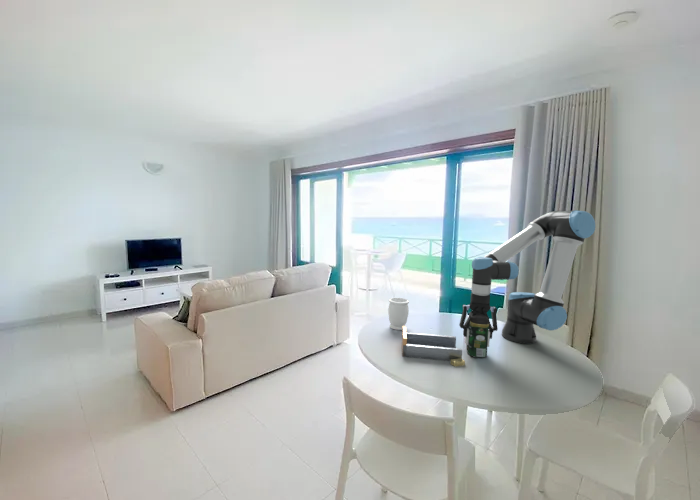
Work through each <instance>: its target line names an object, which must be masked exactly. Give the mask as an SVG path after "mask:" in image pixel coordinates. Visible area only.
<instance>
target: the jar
mask: <svg viewBox="0 0 700 500" xmlns="http://www.w3.org/2000/svg"><path fill="white" fill-rule="evenodd" d="M388 302H389V303H388V304H389V305H388V309H387V311H388V321H389V323H390V325H389V328H390V329H393V330H397V331H402V330H403V326H406V325H407V322H408V317H409V303H410V300H409V299H406V298H404V297H391V298H389V299H388Z"/></svg>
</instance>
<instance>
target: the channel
mask: <svg viewBox="0 0 700 500" xmlns="http://www.w3.org/2000/svg"><path fill="white" fill-rule="evenodd" d="M401 331H402V335H401V349H402V350H401V352H402V353H401V356H402V357H406V358H415V359H426V360H436V361H437V360H438V361H448V362H449V361H450V362H451V359H459V358H461V359H463V349H462V348H457V346H456V345H457V336H455V335H454V336H453V335H444V334H443V335H442V334H431V333H430V334H429V333H419V332H418V333H416V332H407V326H406V325H405V326H403V330H401Z"/></svg>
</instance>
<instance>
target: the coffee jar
mask: <svg viewBox="0 0 700 500" xmlns="http://www.w3.org/2000/svg"><path fill="white" fill-rule="evenodd" d="M470 313H471V311H470V312H469V313H468V317H470V325H469V327H468V329H469V340H468V345H466V352H467V353H468V355H469V356H471V357H474V358H477V359H482V358H487V356H488V347H487V344H488V330H489V321H490V317H489V316H488V317H487V316H485V315H483V314H480V313H478V314H476V315H473V316H471V314H470Z"/></svg>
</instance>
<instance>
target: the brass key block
mask: <svg viewBox="0 0 700 500" xmlns="http://www.w3.org/2000/svg"><path fill="white" fill-rule="evenodd" d="M449 364H450V365H451V366H452V367H462V366H466V360H464V359H463V358H462V359H461V358H459V359H451V361H450V362H449Z"/></svg>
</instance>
